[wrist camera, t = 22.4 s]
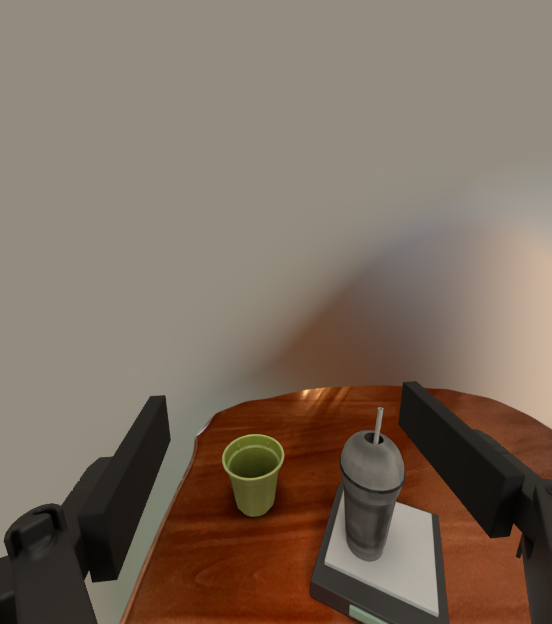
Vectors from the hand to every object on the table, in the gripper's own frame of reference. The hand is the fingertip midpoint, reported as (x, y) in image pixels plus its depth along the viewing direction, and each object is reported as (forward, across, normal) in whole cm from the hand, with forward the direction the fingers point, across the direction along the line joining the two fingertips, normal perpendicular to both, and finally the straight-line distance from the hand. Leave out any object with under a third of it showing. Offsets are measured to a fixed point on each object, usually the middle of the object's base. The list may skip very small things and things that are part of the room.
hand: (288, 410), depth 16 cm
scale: (+12, +14, -31) cm, 37 cm away
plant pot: (+23, -2, -32) cm, 39 cm away
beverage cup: (+13, +12, -28) cm, 33 cm away
